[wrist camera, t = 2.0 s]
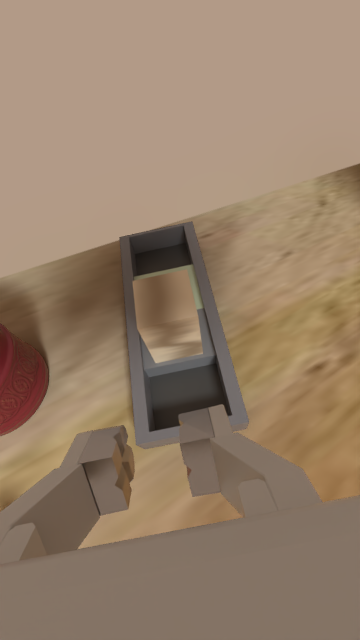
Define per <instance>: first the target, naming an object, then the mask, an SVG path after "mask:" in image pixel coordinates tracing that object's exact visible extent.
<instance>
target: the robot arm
mask: <svg viewBox="0 0 360 640" xmlns="http://www.w3.org/2000/svg"><path fill="white" fill-rule="evenodd" d="M179 424H180V428H179V438H180V447H181V451H182V456H183V460H184V464H185V465H186V466H187V475H188V481H189V485H190V489H191V493H192V497H195V496H201V495H207V494H213V493H219V492H221V494H222V495H223V496H224V497H225V498H226V499H227V500H228V501H229V502H230V504H231V505H232V506H233V507H234V508H235V509H236V510H237V511H238V512H239V513H240V514H241V515H242V516H243V517H244V518H239V519H233V520H228V521H223V522H218V523H213V524H207V525H202V526H197V527H192V528H187V529H181V530H176V531H171V532H166V533H161V534H155V535H150V536H145V537H140V538H135V539H129V540H124V541H119V542H114V543H108V544H103V545H98V546H93V547H88V548H82V549H78V547H79V546H80V544H81V543H82V542H83V540H84V539H85V538H86V536H87V535H88V533H89V532H90V531H91V529H92V528H93V526H94V525H95V524H96V522H97V521H98V520H99V518H100V516H101V515H105V514H110V513H114V512H119V511H123V510H127V509H128V508H129V502H130V496H131V487H130V484H129V483H130V482H131V481H132V480H133V478H134V472H135V469H134V457H133V452H132V448H131V447H130V446H128V445H127V444H126V443H127V438H128V435H127V432H126V428H125V427H124V426H123V425H121V426H115V427H110V428H104V429H98V430H94V431H93V430H92V431H87V432H83V433H79V434H77V435H76V437H75V439H74V441H73V443H72V445H71V447H70V449H69V450H68V452H67V454H66V456H65V458H64V460H63V462H62V464H61V466H60V468H57V469H54V470H53V471H51V472H50V473H49V474H48V475H46V476H45V477H44V478H43V479H41V480H40V481H39V482H38V483H36V484H35V485H34V486H33V487H31V488H30V489H29V490H27V491H26V492H25V493H24V494H22V495H21V496H20V497H19V498H17V499H16V500H15V501H14V502H12V503H11V504H10V505H9V506H7V507H6V508H5V509H4V510H2V511H1V512H0V640H360V495H358V496H353V497H348V498H343V499H338V500H332V501H327V502H322V500H321V499H320V497H319V495H318V494H317V492H316V490H315V489H314V487H313V485H312V484H311V482H310V481H309V479H308V477H307V476H306V474H305V472H304V471H303V469H302V468H300V467H298V466H296V465H295V464H293V463H291V462H289V461H287V460H286V459H284V458H282V457H280V456H279V455H277V454H275V453H273V452H271V451H270V450H268V449H266V448H264V447H262V446H261V445H259V444H257V443H255V442H254V441H252V440H250V439H248V438H246V437H245V436H243V435H241V434H239V433H234V434H233V431H232V428H231V425H230V422H229V419H228V416H227V413H226V410H225V407H224V405H223V404H221V405H217V406H213V407H209V408H204V409H200V410H195V411H191V412H187V413H182V414H179Z"/></svg>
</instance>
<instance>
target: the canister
mask: <svg viewBox="0 0 360 640" xmlns="http://www.w3.org/2000/svg"><path fill="white" fill-rule="evenodd" d="M48 382H49V372H48V367H47V364H46V362H45V360H44V359H43V358H42V356H41V354H40V353H39V352H38V351H37V350H36V349H35V348H33V347H32V346H31V345H29V344H28V343H26V342H23V341H22V340H20V339H19V338H18V337H16V336H15V335H14V334H12V333H11V332H9V331H8V329H7V328H6V327H5V326H4V325H2V324H1V323H0V436H2V435H5V434H8V433H10V432H12V431H14V430H15V429H17V428H19V427H20V426H21V425H23V424H24V423H25V422H26V421H27V420H28V419H29V418H30V417H31V416H32V415H33V414H34V413H35V412H36V410H37V409H38V407H39V406H40V404H41V402H42V401H43V399H44V396H45V394H46V391H47V387H48Z"/></svg>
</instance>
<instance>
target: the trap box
mask: <svg viewBox="0 0 360 640" xmlns="http://www.w3.org/2000/svg"><path fill="white" fill-rule="evenodd" d="M120 249H121V261H122V274H123V287H124V299H125V312H126V325H127V337H128V350H129V362H130V375H131V388H132V400H133V413H134V425H135V438H136V445H137V446H139V447H141V448H143V449H149V448H154V447H159V446H163V445H168V444H173V443H178V442H180V438H179V428H180V424H179V414H182V413H187V412H191V411H195V410H200V409H204V408H209V407H213V406H217V405H221V404H223V405H224V407H225V410H226V413H227V416H228V419H229V422H230V425H231V428H232V431H238V430H243V429H246V428H247V426H248V424H249V420H248V416H247V413H246V409H245V406H244V402H243V399H242V395H241V392H240V388H239V385H238V381H237V378H236V374H235V371H234V367H233V364H232V360H231V357H230V353H229V349H228V346H227V342H226V339H225V335H224V332H223V328H222V325H221V321H220V318H219V314H218V311H217V307H216V304H215V300H214V297H213V293H212V290H211V286H210V283H209V279H208V276H207V272H206V268H205V265H204V261H203V258H202V254H201V251H200V247H199V244H198V240H197V237H196V233H195V230H194V226H193V223H192V222H187V223H183V224H178V225H174V226H169V227H164V228H160V229H155V230H150V231H146V232H141V233H137V234H132V235H127V236H123V237H120ZM186 269H187V271H188V275H189V279H190V284H191V288H192V292H193V296H194V300H195V305H196V309H197V313H198V318H199V326H200V333H201V341H202V348H203V354H199V355H194V356H189V357H184V358H179V359H175V360H170V361H165V362H160V363H155V361H154V359H153V358H152V356H151V354H150V352H149V350H148V348H147V346H146V344H145V342H144V341H143V339H142V337H141V335H140V333H139V331H138V329H137V321H136V312H135V302H134V292H133V282H132V281H134V280H139V279H144V278H148V277H153V276H158V275H163V274H167V273H172V272H177V271H181V270H186Z"/></svg>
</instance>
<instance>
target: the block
mask: <svg viewBox="0 0 360 640" xmlns="http://www.w3.org/2000/svg"><path fill="white" fill-rule="evenodd" d="M132 282H133V292H134V302H135V312H136V321H137V329H138V331H139V333H140V335H141V337H142V339H143V341H144V342H145V344H146V346H147V348H148V350H149V352H150V354H151V356H152V358H153V359H154V361H155V363H160V362H165V361H170V360H175V359H179V358H184V357H189V356H194V355H199V354H203V348H202V341H201V333H200V326H199V318H198V313H197V309H196V305H195V300H194V296H193V292H192V288H191V284H190V279H189V275H188V271H187V269H186V270H181V271H177V272H172V273H167V274H163V275H158V276H153V277H148V278H144V279H139V280H134V281H132Z"/></svg>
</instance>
